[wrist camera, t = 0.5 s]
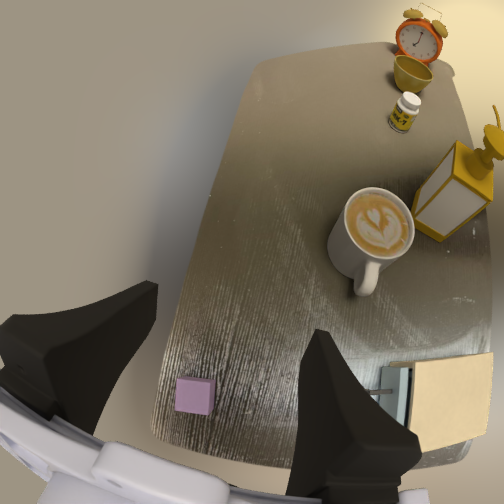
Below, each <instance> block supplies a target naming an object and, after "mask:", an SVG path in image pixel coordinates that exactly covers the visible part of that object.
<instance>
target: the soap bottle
mask: <svg viewBox="0 0 504 504" xmlns="http://www.w3.org/2000/svg"><path fill="white" fill-rule="evenodd" d="M493 109H494V111H495V114H496V119H497V126H498V127H496V126H494V125H490V124H488V125H485V127H484V133H485V136H484V139H483V142H484V145H485V147H486V149H485V150H482V149H481V148H477V149H475V150H474V151H473V150H471V149H470V148H468V147H467V146H465V145H464V144H462V143H461V142H459V141H458V140H456V143H454V144H453V146H452V147H451V148H450V150H449V151H448V152H447V154H446V155H445V156H444V158H443V159H442V160H441V161H440V163H439V164H438V165H437V167H436V168H435V169H434V170H433V172H432V173H431V174H430V176H429V177H428V178H427V179H426V181H425V182H424V183H423V184H422V185H421V187H420V188H419V189H418V190H417V192H416V194H415V198H414V201H413V205H412V209H411V212H410V213H411V216H412V218H413V222H414V228H416V229H418V230H419V231H421V232H423V233H424V234H426V235H428V236H430V237H431V238H433V239H435V240H436V241H438V242H439V243H441V242H442V241H443V240H445V239H446V238H447V237H449V236H450V235H451V234H452V233H454V232H455V231H456V230H458V229H459V228H460V227H462V226H463V225H464V224H465V223H467V222H468V221H469V220H470V219H472V218H473V217H474V216H475V215H477V214H478V213H479V212H480V211H481V210H483V209H484V208H485V207H486V206H488V205H489V204H490V201H491V202H492V201H493V167H494V165H493V161H492V159H493V158H496V159H497V160H501V161H502V160H503V159H504V131H503V130H501V126H500V119H499V115H498V112H497V110H496V107H495V106H494V105H493Z"/></svg>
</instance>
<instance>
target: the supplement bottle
mask: <svg viewBox="0 0 504 504" xmlns="http://www.w3.org/2000/svg"><path fill="white" fill-rule="evenodd" d="M420 104H421V100H420V99H419V97H418V96H416V95H415V94H413V93H411V92H404V93H403V95H402V97H401V98H400V99H398V101H397V103H396V105H395V107H394V110H393V112H392V114H391V116H390V118H389V124H390V125H391V127H392V128H393V129H395V130H396V131H398V132H401V133H405V132H407V131H408V130H409V128H410V127H411V125H412V123H413V121H414V120H415V118H416V116H417V114H418V112H419V109H418V108H419V107H420Z"/></svg>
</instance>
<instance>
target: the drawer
mask: <svg viewBox="0 0 504 504" xmlns="http://www.w3.org/2000/svg"><path fill="white" fill-rule="evenodd" d="M408 369H409V368H408V367H382V377H381V390H369V389H365V390H366V391H367V392H368V394H369V395H380V403H379V405H380V406H381V407H382V408H383V409H384V410H385V411H386V412H387V413H388V414H389V415H390V416H392V417H393V418H394V419H395V420H396V421H398V422H399V423H400V424H402V425H403V426H404V427H406V428H407V426H408V418H409V409H410V399H411V387H412V370H413V369H412V370H408Z"/></svg>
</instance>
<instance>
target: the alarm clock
mask: <svg viewBox="0 0 504 504" xmlns="http://www.w3.org/2000/svg"><path fill="white" fill-rule="evenodd" d="M403 16H404V17H405V18H410V19H407V20H406V21H404V22H403V23H402V24H401V25H400V26H399V28H398V29H397V31H396V42H397V45H398V47H399V50H398V51H397V52H396V54H395V55H396V56H398V55H405V56H409V57H412V58H414V59H416V60H418V61H420V62H421V63H423V64H424V65H426V66H427V67H428V63H431V62H433V61H434V60H436V59H437V58H438V56H439V55H440V52H441V50H442V46H443V41H442V37H443V38H446V37H447V36H448V32H447V30H446V28H445V27H446V26H444V25H443V24H442V23H441V22H440V21H438V20H433V21H432V23H430V21H429V20H428V19H426V18H424V19H421V17H423V14H422V13H421V12H420V11H418V10H414V9H412V8H411V10H407V11H405V12H404V14H403Z"/></svg>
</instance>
